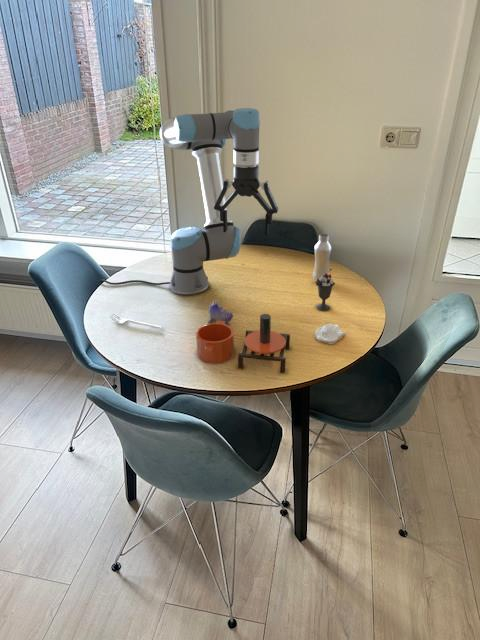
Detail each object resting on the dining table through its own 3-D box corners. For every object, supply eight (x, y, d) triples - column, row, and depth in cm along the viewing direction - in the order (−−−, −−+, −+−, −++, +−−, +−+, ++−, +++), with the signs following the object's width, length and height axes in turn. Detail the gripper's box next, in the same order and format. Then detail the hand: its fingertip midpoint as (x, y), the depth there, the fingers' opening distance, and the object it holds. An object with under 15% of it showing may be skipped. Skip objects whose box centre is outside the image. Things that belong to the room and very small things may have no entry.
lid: (241, 353, 141) (240, 325, 136) (248, 331, 151) (248, 304, 146) (283, 357, 139) (284, 329, 134) (287, 335, 149) (288, 308, 144)
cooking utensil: (160, 331, 161) (159, 326, 160) (109, 321, 167) (108, 317, 166) (164, 327, 164) (164, 322, 163) (114, 317, 170) (113, 312, 169)
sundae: (334, 305, 176) (338, 268, 169) (329, 313, 171) (333, 275, 164) (317, 301, 179) (320, 264, 171) (311, 309, 174) (314, 272, 166)
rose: (348, 333, 151) (317, 333, 151) (347, 345, 153) (316, 345, 153) (343, 317, 159) (314, 317, 160) (342, 329, 162) (313, 329, 162)
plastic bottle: (329, 286, 190) (334, 238, 180) (312, 286, 190) (316, 238, 180) (327, 279, 196) (331, 232, 186) (311, 279, 196) (314, 232, 186)
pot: (190, 366, 144) (189, 345, 140) (204, 336, 158) (203, 317, 155) (227, 370, 142) (227, 349, 138) (238, 340, 156) (238, 320, 153)
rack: (238, 368, 143) (237, 354, 140) (246, 343, 155) (246, 330, 152) (284, 373, 141) (285, 359, 138) (289, 347, 152) (290, 334, 150)
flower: (214, 320, 155) (224, 295, 160) (195, 322, 160) (205, 299, 165) (231, 336, 160) (240, 312, 165) (212, 338, 166) (221, 315, 171)
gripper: (202, 166, 143) (205, 233, 153) (286, 169, 138) (283, 238, 149) (208, 160, 149) (211, 225, 160) (289, 163, 145) (285, 230, 156)
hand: (245, 232), depth 155 cm, fingers open, 13 cm apart
